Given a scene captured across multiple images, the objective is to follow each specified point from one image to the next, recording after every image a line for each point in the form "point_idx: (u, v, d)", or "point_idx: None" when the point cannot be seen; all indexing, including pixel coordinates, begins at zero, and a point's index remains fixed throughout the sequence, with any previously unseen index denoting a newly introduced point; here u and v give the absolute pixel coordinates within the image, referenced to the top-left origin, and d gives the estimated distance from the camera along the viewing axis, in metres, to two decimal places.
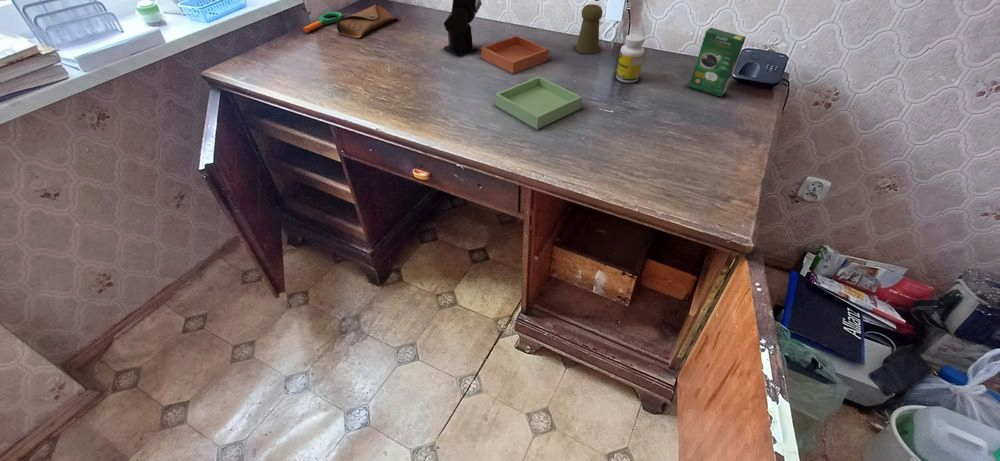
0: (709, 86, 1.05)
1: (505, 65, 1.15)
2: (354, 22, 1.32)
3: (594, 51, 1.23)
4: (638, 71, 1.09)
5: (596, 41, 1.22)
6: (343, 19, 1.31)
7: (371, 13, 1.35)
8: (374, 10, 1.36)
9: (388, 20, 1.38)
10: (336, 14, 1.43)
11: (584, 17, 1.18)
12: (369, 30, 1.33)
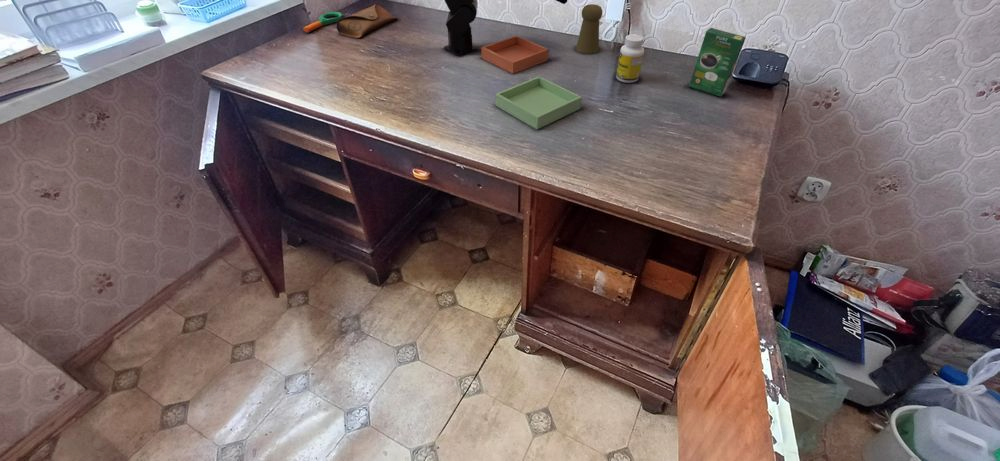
0: (709, 86, 1.05)
1: (505, 65, 1.15)
2: (354, 22, 1.32)
3: (594, 51, 1.23)
4: (638, 71, 1.09)
5: (596, 41, 1.22)
6: (343, 19, 1.31)
7: (371, 13, 1.35)
8: (374, 10, 1.36)
9: (388, 20, 1.38)
10: (336, 14, 1.43)
11: (584, 17, 1.18)
12: (369, 30, 1.33)
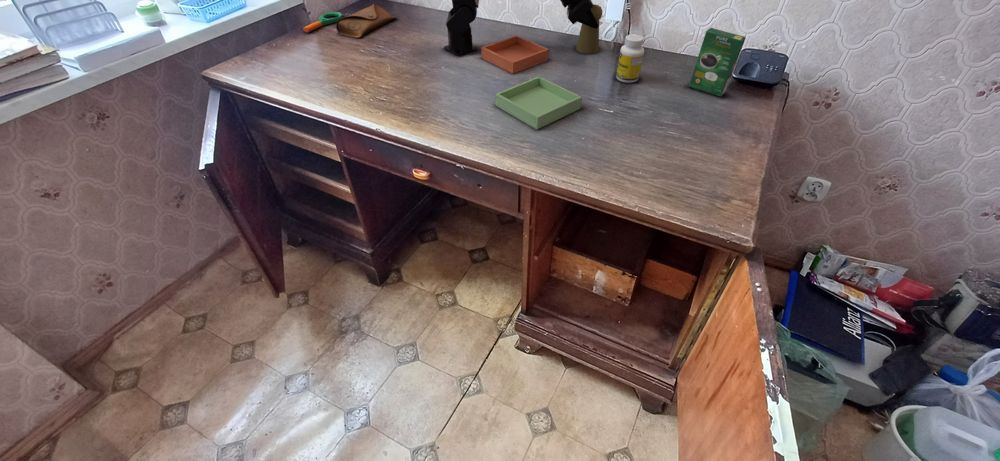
0: (709, 86, 1.05)
1: (505, 65, 1.15)
2: (353, 22, 1.32)
3: (594, 51, 1.23)
4: (638, 71, 1.09)
5: (596, 41, 1.22)
6: (342, 19, 1.31)
7: (370, 13, 1.36)
8: (373, 10, 1.37)
9: (387, 20, 1.38)
10: (336, 14, 1.43)
11: None
12: (368, 30, 1.33)
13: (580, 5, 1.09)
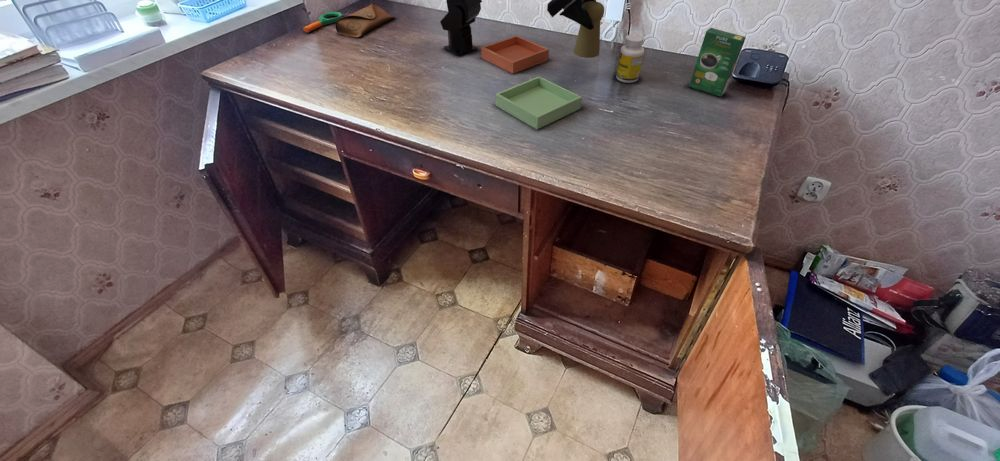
0: (709, 86, 1.05)
1: (505, 65, 1.15)
2: (353, 22, 1.32)
3: (589, 56, 1.07)
4: (638, 71, 1.09)
5: (592, 45, 1.06)
6: (342, 19, 1.31)
7: (369, 12, 1.36)
8: (371, 9, 1.37)
9: (385, 19, 1.39)
10: (336, 14, 1.43)
11: None
12: (368, 29, 1.33)
13: None
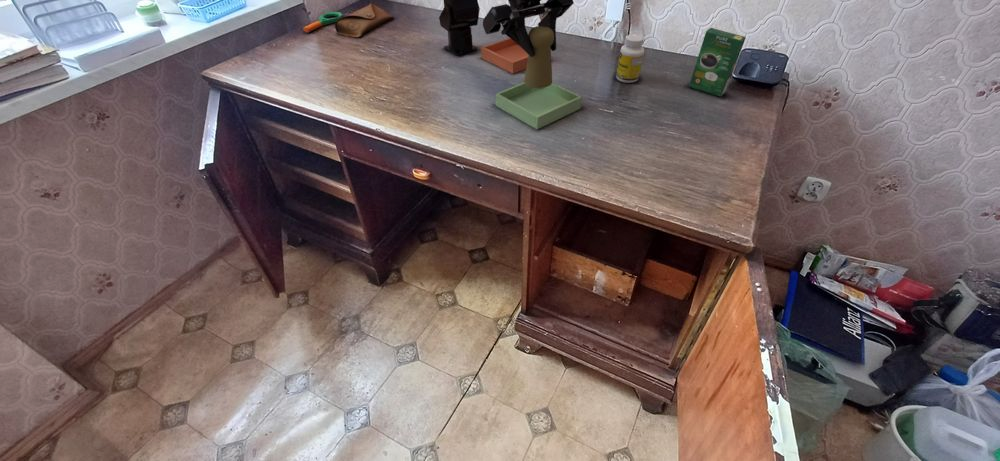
0: (709, 86, 1.05)
1: (505, 65, 1.15)
2: (352, 22, 1.32)
3: (532, 85, 0.97)
4: (638, 71, 1.09)
5: (536, 74, 0.95)
6: (341, 19, 1.31)
7: (368, 12, 1.36)
8: (370, 9, 1.37)
9: (385, 19, 1.39)
10: (336, 14, 1.43)
11: None
12: (367, 29, 1.33)
13: (488, 13, 0.89)
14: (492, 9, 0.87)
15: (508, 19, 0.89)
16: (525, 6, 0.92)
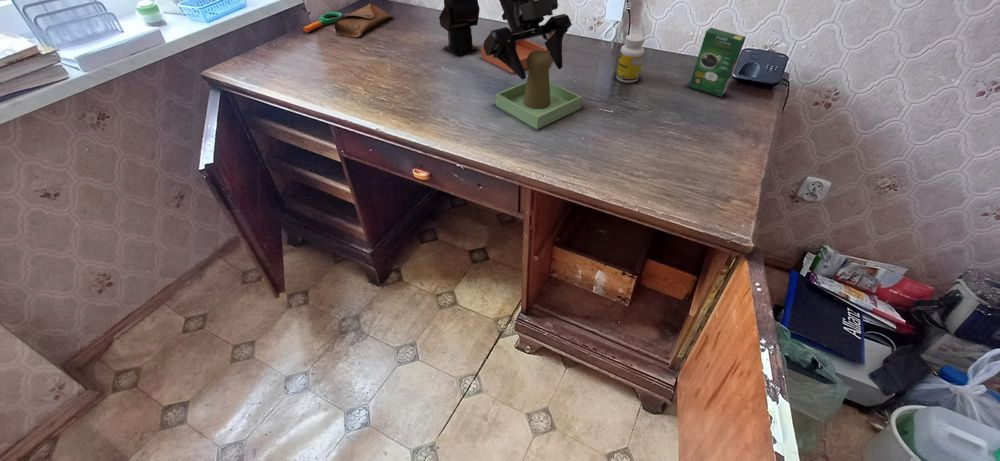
0: (709, 86, 1.05)
1: (505, 65, 1.15)
2: (352, 22, 1.32)
3: (531, 106, 1.00)
4: (638, 71, 1.09)
5: (534, 96, 0.98)
6: (341, 19, 1.31)
7: (367, 12, 1.36)
8: (370, 9, 1.37)
9: (384, 19, 1.39)
10: (336, 14, 1.43)
11: None
12: (367, 29, 1.33)
13: (488, 36, 0.91)
14: (492, 32, 0.90)
15: (508, 41, 0.92)
16: (524, 28, 0.95)
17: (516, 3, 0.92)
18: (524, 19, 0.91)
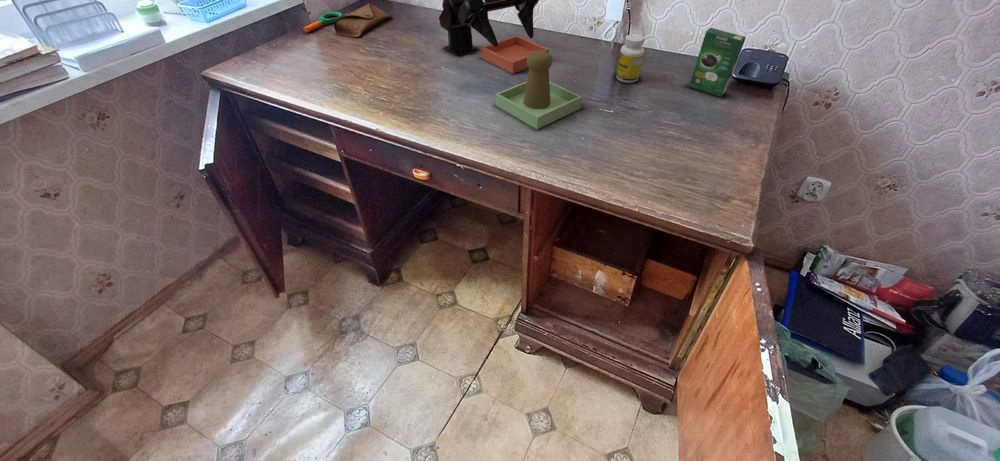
0: (709, 86, 1.05)
1: (505, 65, 1.15)
2: (351, 21, 1.32)
3: (531, 106, 1.00)
4: (638, 71, 1.09)
5: (534, 96, 0.98)
6: (340, 19, 1.31)
7: (366, 12, 1.36)
8: (369, 9, 1.37)
9: (383, 18, 1.39)
10: (336, 14, 1.43)
11: None
12: (367, 29, 1.34)
13: (462, 5, 0.97)
14: (465, 1, 0.96)
15: None
16: None
17: None
18: None
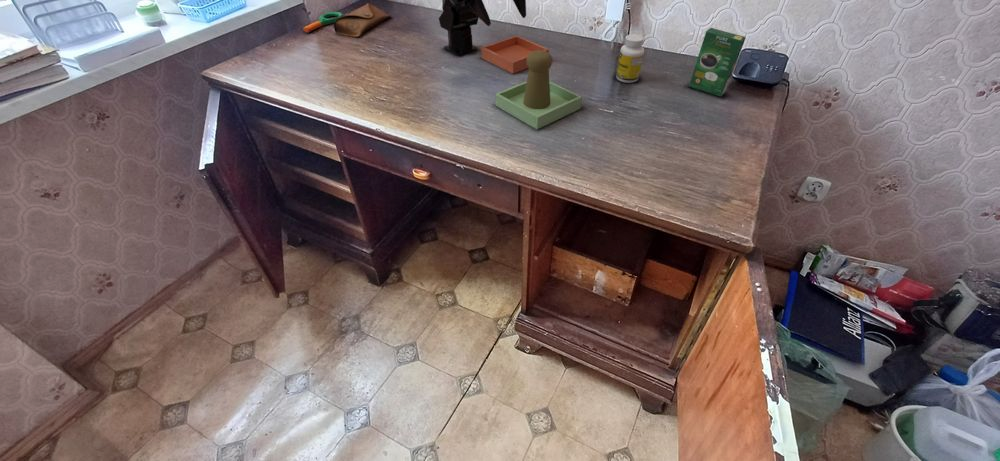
0: (709, 86, 1.05)
1: (505, 65, 1.15)
2: (351, 21, 1.32)
3: (531, 106, 1.00)
4: (638, 71, 1.09)
5: (534, 96, 0.98)
6: (340, 19, 1.31)
7: (366, 12, 1.36)
8: (368, 9, 1.37)
9: (382, 18, 1.39)
10: (336, 14, 1.43)
11: None
12: (366, 28, 1.34)
13: None
14: None
15: None
16: None
17: None
18: None
